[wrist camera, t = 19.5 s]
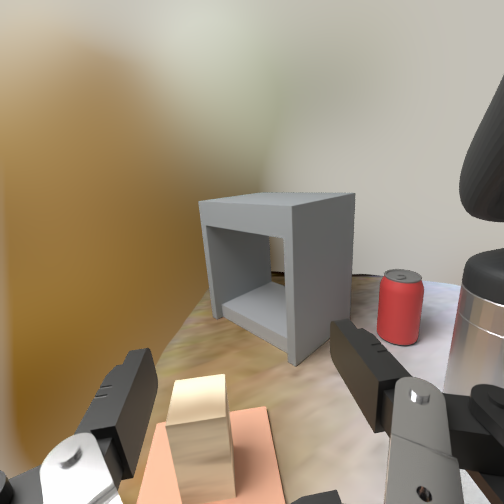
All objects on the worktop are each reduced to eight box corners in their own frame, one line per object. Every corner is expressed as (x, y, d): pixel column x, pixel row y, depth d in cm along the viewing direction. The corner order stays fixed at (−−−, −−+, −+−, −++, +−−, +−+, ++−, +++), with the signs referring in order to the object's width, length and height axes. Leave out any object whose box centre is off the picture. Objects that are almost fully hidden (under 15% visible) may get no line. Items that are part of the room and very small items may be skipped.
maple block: (188, 453, 29) (175, 380, 26) (233, 446, 30) (224, 373, 27) (182, 507, 24) (165, 425, 22) (235, 497, 25) (225, 416, 22)
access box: (267, 290, 70) (262, 192, 62) (349, 321, 53) (355, 192, 46) (213, 316, 58) (198, 201, 51) (295, 366, 42) (291, 206, 35)
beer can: (369, 335, 48) (373, 275, 45) (386, 321, 52) (391, 265, 49) (408, 352, 43) (416, 286, 40) (423, 335, 47) (432, 273, 44)
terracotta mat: (265, 409, 35) (265, 406, 34) (294, 556, 21) (294, 551, 21) (157, 426, 33) (157, 423, 33) (116, 594, 20) (114, 590, 20)
